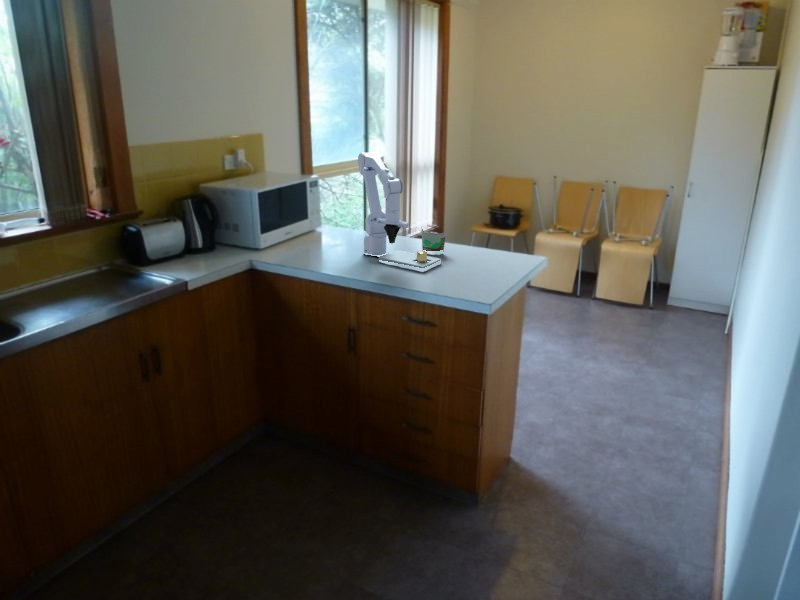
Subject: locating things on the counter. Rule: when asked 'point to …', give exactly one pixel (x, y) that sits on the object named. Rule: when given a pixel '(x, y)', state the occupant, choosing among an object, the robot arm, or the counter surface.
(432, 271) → the counter surface
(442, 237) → the food container
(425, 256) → the gold metal cylinder
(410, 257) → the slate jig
